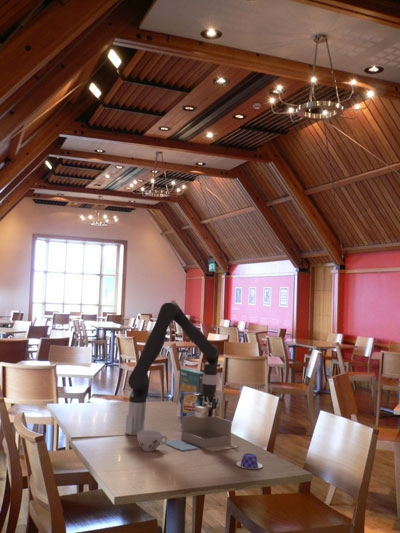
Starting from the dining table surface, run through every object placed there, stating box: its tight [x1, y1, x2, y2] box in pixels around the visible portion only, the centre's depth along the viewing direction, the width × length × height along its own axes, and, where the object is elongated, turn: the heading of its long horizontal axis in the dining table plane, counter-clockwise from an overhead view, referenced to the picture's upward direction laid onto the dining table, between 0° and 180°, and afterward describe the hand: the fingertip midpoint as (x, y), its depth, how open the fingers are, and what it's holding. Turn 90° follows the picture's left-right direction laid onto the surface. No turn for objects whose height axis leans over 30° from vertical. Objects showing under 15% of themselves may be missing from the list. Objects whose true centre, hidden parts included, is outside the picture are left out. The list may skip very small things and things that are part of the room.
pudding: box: [236, 452, 263, 470], centre depth 256 cm, size 12×12×5 cm
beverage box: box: [179, 392, 201, 435], centre depth 312 cm, size 7×11×22 cm, turn 104°
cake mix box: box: [176, 368, 204, 418], centre depth 349 cm, size 22×6×30 cm, turn 34°
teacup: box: [136, 429, 168, 452], centre depth 273 cm, size 15×12×8 cm
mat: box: [160, 439, 199, 452], centre depth 283 cm, size 10×18×1 cm, turn 38°
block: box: [195, 404, 221, 418], centre depth 295 cm, size 13×5×6 cm, turn 128°
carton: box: [180, 416, 239, 452], centre depth 291 cm, size 18×26×12 cm
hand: (207, 415), depth 295 cm, fingers closed on block, 4 cm apart
